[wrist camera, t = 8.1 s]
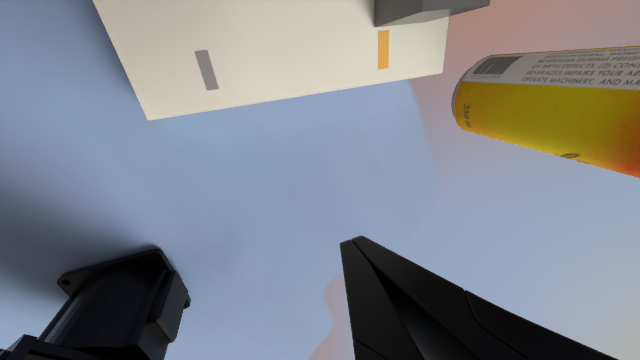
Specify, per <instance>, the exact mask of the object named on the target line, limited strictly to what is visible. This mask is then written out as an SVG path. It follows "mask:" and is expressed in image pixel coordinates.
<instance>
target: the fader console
mask: <svg viewBox="0 0 640 360" xmlns="http://www.w3.org/2000/svg"><path fill="white" fill-rule="evenodd" d="M93 2H94V5H95V7H96V9H97V11H98V13H99V15H100V18H101V20H102V22H103V24H104V26H105V28H106V31H107V33H108V35H109V37H110V39H111V41H112V44H113V46H114V48H115V50H116V52H117V54H118V57H119V59H120V61H121V63H122V65H123V67H124V70H125V72H126V74H127V76H128V78H129V80H130V83H131V85H132V87H133V89H134V91H135V93H136V96H137V98H138V100H139V102H140V104H141V106H142V109H143V111H144V113H145V115H146V117H147V119H148V121H149V120H156V119H162V118H168V117H174V116H180V115H187V114H193V113H199V112H205V111H211V110H217V109H224V108H230V107H236V106H242V105H248V104H255V103H261V102H267V101H273V100H279V99H286V98H292V97H298V96H304V95H310V94H317V93H323V92H329V91H335V90H341V89H348V88H354V87H360V86H366V85H372V84H379V83H385V82H391V81H397V80H403V79H410V78H416V77H421V76H428V75H434V74H440V73H443V66H444V57H445V49H446V40H447V32H448V23H449V16H448V17H444V18H440V19H437V20H433V21H429V22H422V23H413V24H403V25H393V26H384V27H375V25H374V0H93Z"/></svg>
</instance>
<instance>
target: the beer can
mask: <svg viewBox="0 0 640 360" xmlns="http://www.w3.org/2000/svg"><path fill="white" fill-rule="evenodd" d="M452 112H453V115H454V117H455V119H456V121H457V123H458V125H459V126H460V127H461V128H462V129H463V130H465V131H468V132H473V133H476V134H479V135H483V136H487V137H490V138H494V139H498V140H501V141H505V142H509V143H512V144H517V145H520V146H524V147H528V148H531V149H535V150H539V151H542V152H546V153H549V154H553V155H557V156H560V157H564V158H568V159H571V160H576V161H579V162H583V163H586V164H590V165H594V166H597V167H601V168H605V169H609V170H612V171H616V172H620V173H623V174H627V175H631V176H634V177H638V178H640V46H626V47H610V48H595V49H580V50H563V51H548V52H531V53H515V54H499V55H491V56H487V57H485V58H483V59H481V60H480V61H478V62H477V63H476V64H475V65H474V66H473V67H471V68H470V69H469V70H468V71H467V72H466V73H465V74H464V75H463V76H462V78H461V79H460V80H459V82H458V83H457V85H456V88H455V90H454V93H453V97H452Z"/></svg>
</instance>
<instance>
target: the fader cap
mask: <svg viewBox="0 0 640 360" xmlns="http://www.w3.org/2000/svg"><path fill="white" fill-rule="evenodd" d="M489 4H490V0H374V25H375V27H384V26H393V25H403V24H413V23H422V22H429V21H433V20H437V19H440V18H444V17H448V16H452V15H455V14H459V13H463V12H466V11H470V10H474V9H478V8H482V7H485V6H489Z"/></svg>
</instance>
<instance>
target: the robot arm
mask: <svg viewBox="0 0 640 360" xmlns="http://www.w3.org/2000/svg"><path fill="white" fill-rule="evenodd" d="M340 250H341V257H342V265H343V272H344V279H345V287H346V294H347V301H348V308H349V316H350V323H351V330H352V338H353V346H354V354H355V360H618V359H616V358H613V357H611V356H609V355H606V354H604V353H601V352H599V351H597V350H595V349H592V348H590V347H588V346H585V345H583V344H581V343H579V342H576V341H574V340H572V339H569V338H567V337H565V336H563V335H560V334H558V333H555V332H553V331H551V330H549V329H546V328H544V327H542V326H540V325H538V324H535V323H533V322H531V321H529V320H526V319H524V318H522V317H520V316H518V315H515V314H513V313H511V312H509V311H507V310H504V309H503V308H501V307H499V306H496V305H495V304H493V303H491V302H489V301H486V300H485V299H482V298H481V297H479V296H477V295H475V294H473V293H471V292H469V291H467V290H465V291H464V289H463V288H461V287H459V286H457V285H455V284H454V283H452V282H450V281H448V280H446V279H444V278H442V277H440V276H438V275H436V274H434V273H433V272H431V271H429V270H427V269H425V268H423V267H421V266H419V265H417V264H415V263H413V262H412V261H410V260H408V259H406V258H404V257H402V256H400V255H398V254H396V253H394V252H393V251H391V250H389V249H387V248H385V247H383V246H381V245H379V244H377V243H375V242H373V241H372V240H370V239H368V238H366V237H364V236H358V237H355V238H353V239H351V240H347V241H344V242H341V243H340ZM154 255H155V256H157V257H153V256H154ZM57 284H58V285H59V286H60V287H61V288H62V289H63V291H64V292H65V293H66V294H67V295H68V296H69V299H68V300H67V301H66V303H65V304H64V305H63V307H62V308H61V309H60V310H59V312H58V313H57V314H56V316H55V317H54V318H53V320H52V321H51V322H50V323H49V325H48V326H47V327H46V329H45V330H44V331H43V333H42V334H41V335H40V337H39V338H38V337H34V336H30V335H26V334H24V335H23V336H22V337H20V338H19V339H18V340H17V341H16V342H15V343H13V344H12V345H11V346H10V347H9V348H8V349H6V350H4V349H0V360H164V357H165V354H166V350H167V347H168V344H169V343H171V342H173V341H174V340H175V339H176V337H177V333H178V329H179V325H180V321H181V317H182V313H183V309H186V308H188V307H189V306H190V302H191V299H190V297H189V295H188V294H187V293H188V290H187V288H186V287H185V285H184V283H183V282H182V280H181V278H180V276H179V275H178V273H177V271H175V270H173V268H172V266H171V265H170V263H169V261H168V260H167V258H166V256H165V255H164V253H163V252H162V251H161V250H159V249H153V250H149V251H146V252H142V253H138V254H134V255H131V256H127V257H123V258H119V259H116V260H112V261H108V262H104V263H101V264H97V265H93V266H89V267H86V268H82V269H78V270H75V271H71V272H67V273H64V274H63V275H62V276H61V277H60V278H59V279H58V280H57ZM37 338H38V339H37Z"/></svg>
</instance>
